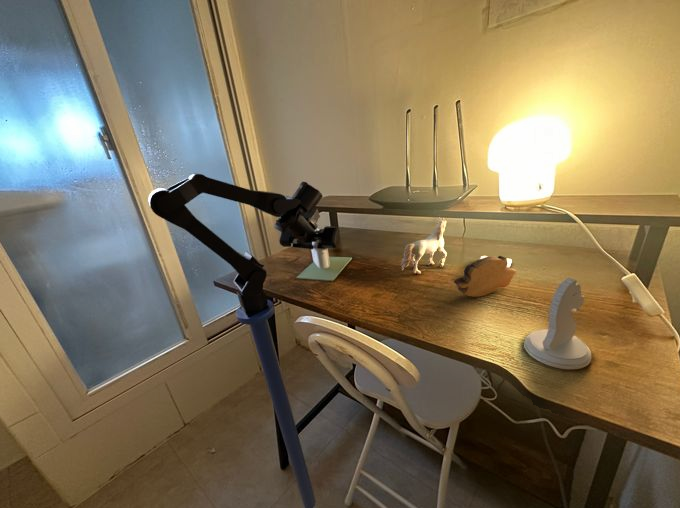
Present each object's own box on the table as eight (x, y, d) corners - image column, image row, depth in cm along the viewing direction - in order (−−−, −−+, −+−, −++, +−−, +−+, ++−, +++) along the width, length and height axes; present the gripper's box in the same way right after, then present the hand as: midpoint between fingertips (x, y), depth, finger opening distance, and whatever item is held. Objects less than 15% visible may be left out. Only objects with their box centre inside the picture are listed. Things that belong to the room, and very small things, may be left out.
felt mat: (332, 281, 93) (332, 280, 93) (296, 278, 99) (296, 277, 98) (352, 258, 107) (352, 257, 107) (319, 257, 113) (319, 256, 113)
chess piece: (603, 355, 53) (629, 278, 46) (568, 378, 49) (591, 299, 43) (545, 328, 61) (560, 260, 54) (512, 346, 58) (523, 276, 51)
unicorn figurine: (457, 259, 95) (460, 217, 89) (419, 281, 85) (419, 236, 79) (437, 254, 101) (438, 215, 95) (399, 275, 91) (398, 232, 85)
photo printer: (331, 267, 100) (326, 230, 95) (319, 270, 99) (313, 233, 94) (323, 258, 109) (318, 225, 104) (312, 261, 108) (306, 227, 103)
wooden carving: (500, 281, 80) (504, 245, 75) (515, 287, 76) (521, 250, 72) (449, 298, 75) (451, 262, 71) (462, 306, 72) (465, 268, 67)
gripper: (333, 198, 83) (350, 226, 96) (276, 201, 91) (300, 226, 104) (325, 235, 80) (344, 258, 93) (267, 234, 88) (292, 255, 101)
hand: (319, 248), depth 98 cm, fingers closed on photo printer, 4 cm apart
